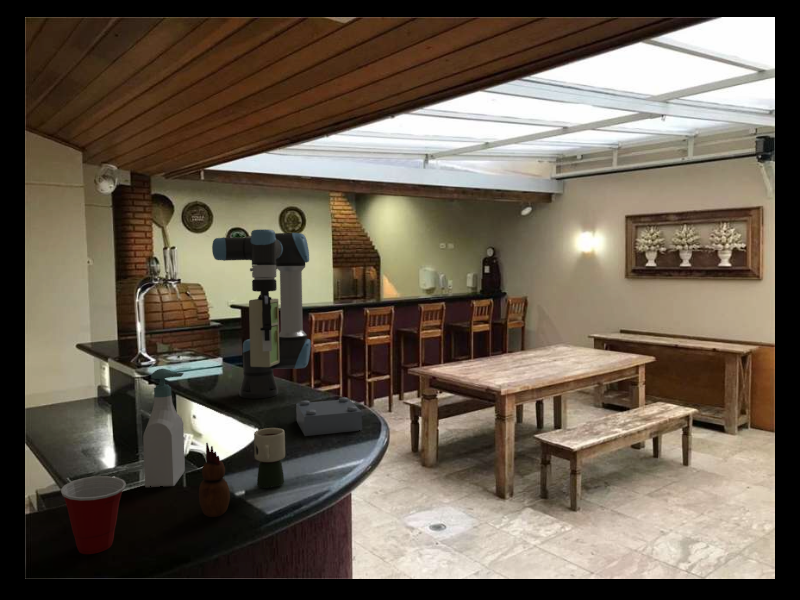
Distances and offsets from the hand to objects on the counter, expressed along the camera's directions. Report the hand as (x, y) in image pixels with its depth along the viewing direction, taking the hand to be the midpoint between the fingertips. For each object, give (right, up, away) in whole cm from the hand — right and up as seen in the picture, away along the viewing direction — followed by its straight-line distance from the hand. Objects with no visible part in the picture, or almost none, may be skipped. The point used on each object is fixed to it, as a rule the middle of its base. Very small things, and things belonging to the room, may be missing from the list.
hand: (265, 348), depth 188 cm
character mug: (+12, -29, -47) cm, 57 cm away
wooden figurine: (+4, -30, -63) cm, 70 cm away
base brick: (+19, -25, +4) cm, 32 cm away
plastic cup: (-14, -31, -77) cm, 84 cm away
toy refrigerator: (0, -5, 0) cm, 5 cm away
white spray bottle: (-14, -29, -42) cm, 53 cm away
